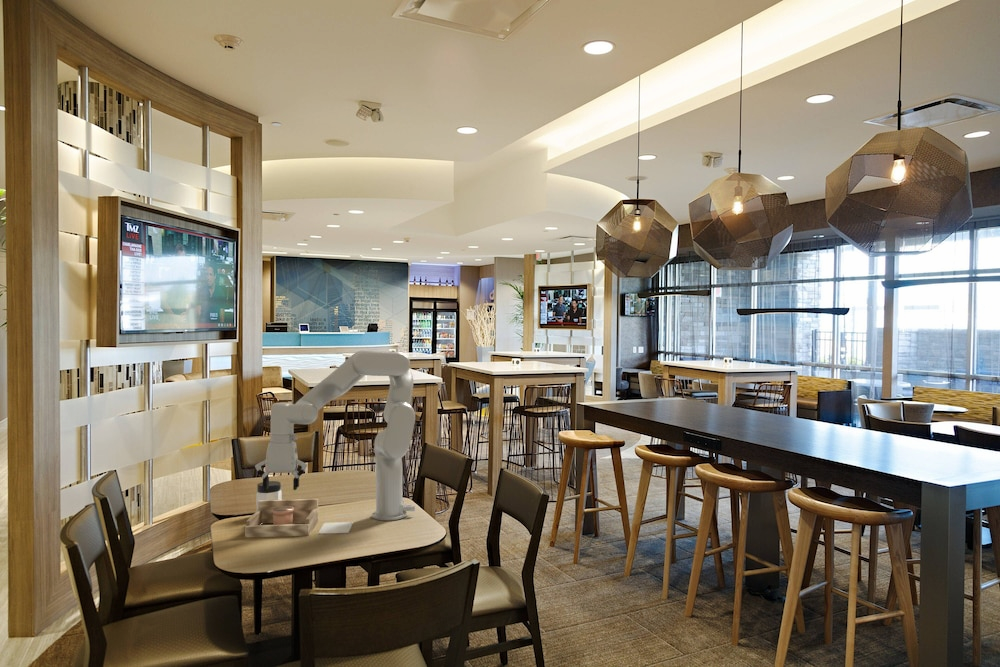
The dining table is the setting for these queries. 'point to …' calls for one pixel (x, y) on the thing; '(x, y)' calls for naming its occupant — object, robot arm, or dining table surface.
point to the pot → (283, 515)
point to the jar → (269, 492)
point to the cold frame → (302, 514)
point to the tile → (336, 528)
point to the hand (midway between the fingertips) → (280, 489)
